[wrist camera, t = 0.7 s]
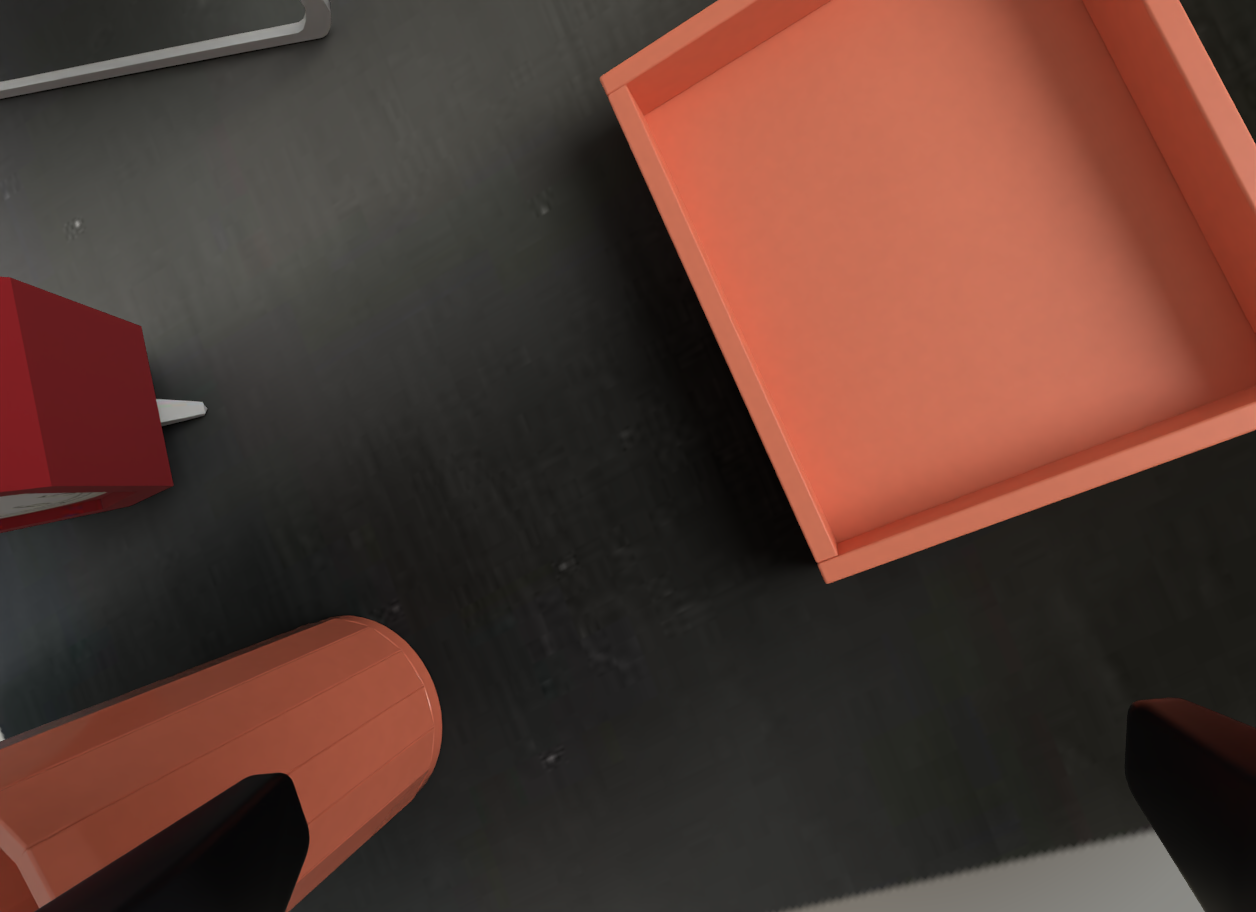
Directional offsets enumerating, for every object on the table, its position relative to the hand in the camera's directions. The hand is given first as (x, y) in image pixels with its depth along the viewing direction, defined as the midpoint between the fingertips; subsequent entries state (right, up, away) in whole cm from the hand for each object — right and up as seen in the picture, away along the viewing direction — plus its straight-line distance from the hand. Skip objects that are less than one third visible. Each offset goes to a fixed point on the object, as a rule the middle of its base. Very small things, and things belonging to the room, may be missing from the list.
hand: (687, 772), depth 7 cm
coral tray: (+8, +10, +11) cm, 17 cm away
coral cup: (-11, -6, +17) cm, 21 cm away
